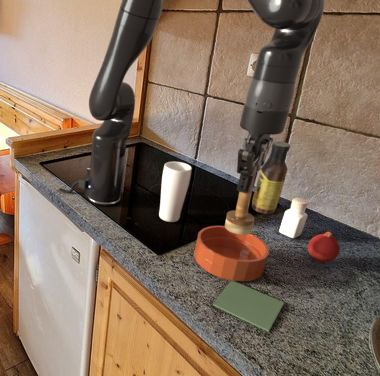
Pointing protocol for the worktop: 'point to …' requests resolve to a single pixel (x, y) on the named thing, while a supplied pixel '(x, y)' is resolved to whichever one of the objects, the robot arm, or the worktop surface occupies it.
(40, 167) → the worktop surface
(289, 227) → the pepper shaker
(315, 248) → the onion
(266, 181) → the sauce bottle
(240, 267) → the bowl
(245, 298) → the mat
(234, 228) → the dish brush
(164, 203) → the drinking glass
